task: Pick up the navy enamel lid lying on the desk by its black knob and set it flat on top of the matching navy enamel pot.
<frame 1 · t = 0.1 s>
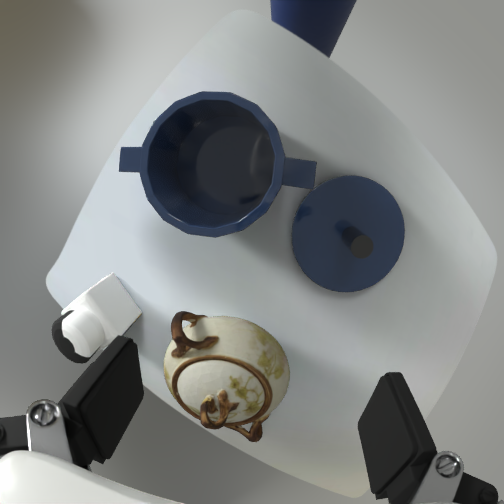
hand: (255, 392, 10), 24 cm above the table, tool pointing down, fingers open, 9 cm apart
lid: (350, 235, 31), point 1 cm above the table
sugar bowl: (233, 343, 38), on the table
medicine bottle: (114, 301, 38), on the table
pot: (225, 164, 31), on the table
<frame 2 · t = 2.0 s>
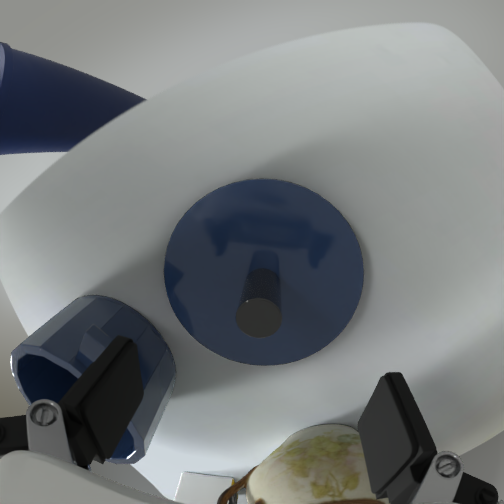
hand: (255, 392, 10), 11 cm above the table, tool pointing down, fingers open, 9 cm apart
lid: (262, 281, 19), point 1 cm above the table
sugar bowl: (319, 443, 25), on the table
medicine bottle: (211, 483, 30), on the table
pot: (114, 354, 23), on the table
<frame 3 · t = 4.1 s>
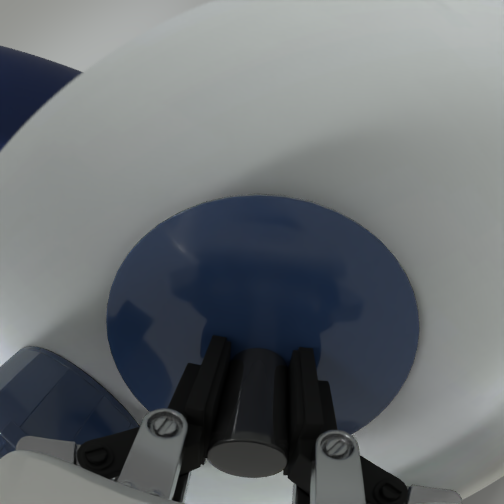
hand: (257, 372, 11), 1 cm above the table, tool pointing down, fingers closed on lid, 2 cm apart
lid: (259, 361, 11), point 1 cm above the table, touching gripper
pot: (74, 414, 15), on the table
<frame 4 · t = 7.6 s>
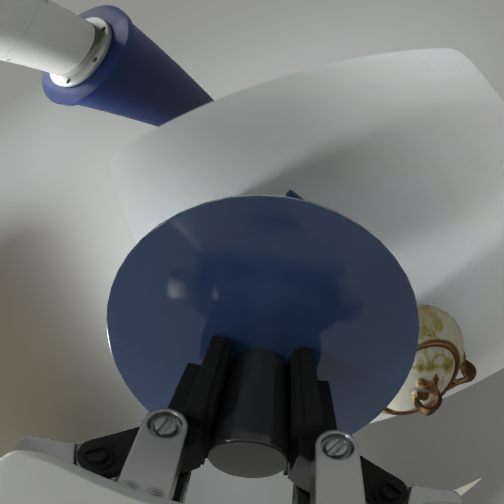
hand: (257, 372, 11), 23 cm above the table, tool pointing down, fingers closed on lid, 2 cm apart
lid: (259, 361, 11), point 22 cm above the table, touching gripper
sugar bowl: (393, 335, 35), on the table
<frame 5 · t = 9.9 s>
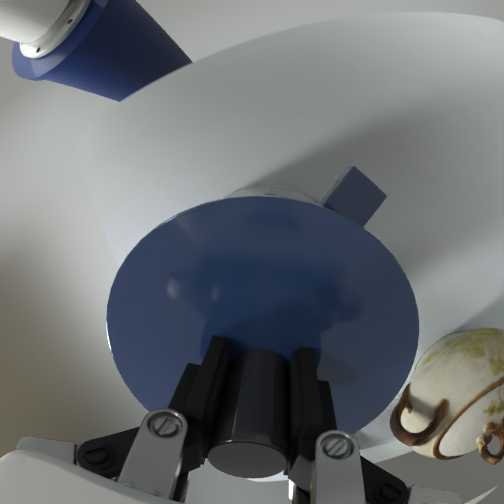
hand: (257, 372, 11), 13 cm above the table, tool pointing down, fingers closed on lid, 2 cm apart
lid: (259, 362, 11), point 12 cm above the table, touching gripper
sugar bowl: (443, 361, 25), on the table
pot: (267, 265, 23), on the table
when the fingers open (9 cm above the table, at t = 11.1 s): lid stays where it is, resting on pot.
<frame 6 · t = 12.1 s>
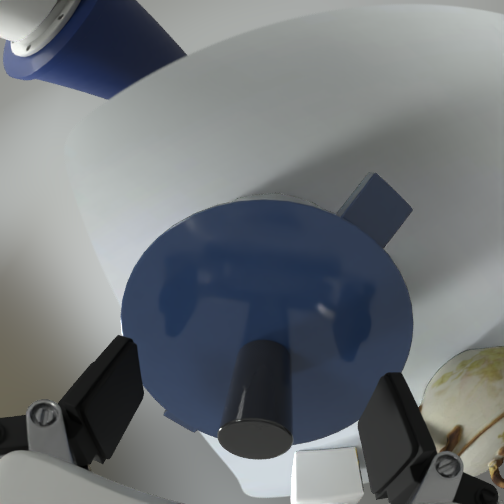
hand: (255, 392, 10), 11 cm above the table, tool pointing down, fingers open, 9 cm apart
lid: (264, 353, 12), point 8 cm above the table, touching pot
sugar bowl: (455, 379, 22), on the table
medicine bottle: (322, 461, 27), on the table
pot: (270, 282, 20), on the table
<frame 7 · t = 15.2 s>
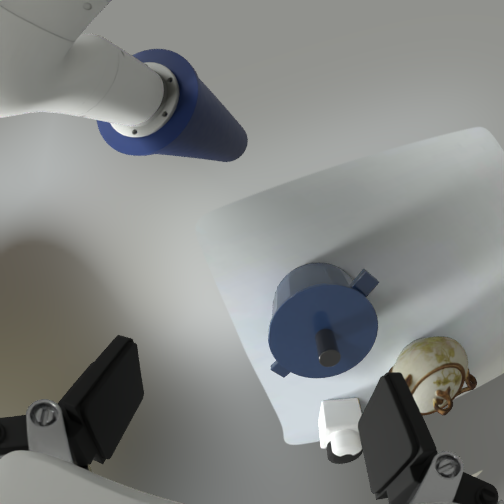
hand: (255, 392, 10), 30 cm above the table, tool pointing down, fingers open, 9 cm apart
lid: (323, 334, 33), point 8 cm above the table, touching pot
sugar bowl: (415, 355, 43), on the table
medicine bottle: (337, 409, 47), on the table
pot: (316, 303, 41), on the table
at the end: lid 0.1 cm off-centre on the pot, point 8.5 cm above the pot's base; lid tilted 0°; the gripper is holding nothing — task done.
